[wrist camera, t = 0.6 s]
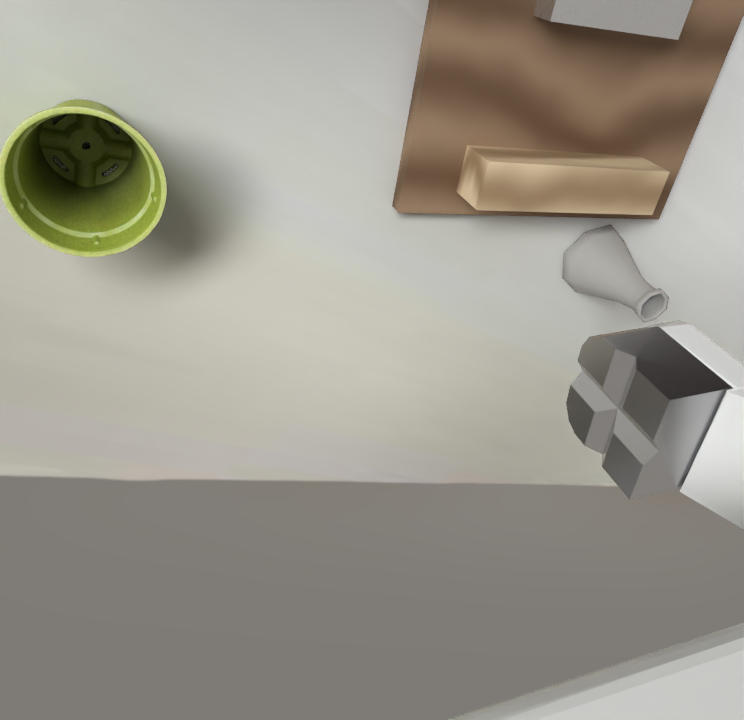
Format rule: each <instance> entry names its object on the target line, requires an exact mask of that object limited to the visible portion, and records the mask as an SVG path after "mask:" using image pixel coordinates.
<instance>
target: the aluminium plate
mask: <svg viewBox="0 0 744 720" xmlns="http://www.w3.org/2000/svg"><path fill="white" fill-rule="evenodd" d="M692 2H693V0H537V2H536V6H535V10H534V14H533V16H536V17H539V18H542V19H545V20H548V21H551V22H558V23H565V24H572V25H579V26H586V27H592V28H599V29H606V30H613V31H620V32H627V33H634V34H640V35H647V36H654V37H661V38H668V39H675V40H678V39H679V36H680V34H681V31H682V28H683V26H684V23H685V20H686V18H687V15H688V12H689V10H690V7H691V4H692Z"/></svg>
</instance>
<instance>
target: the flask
mask: <svg viewBox="0 0 744 720" xmlns="http://www.w3.org/2000/svg"><path fill="white" fill-rule="evenodd" d="M563 279H564V280H565V281H566V282H567V283H568V284H569V285H570V286H571V287H572V288H573V289H574V290H575V291H576V292H579V293H583V294H587V295H592V296H597V297H601V298H605V299H609V300H613V301H616V302H620V303H622V304H624V305H626V306H628V307H630V308H632V309H633V310H634V311H636V314H637V316H638V317H639V318H640V319H641V320H642V321H643V322H647V321H650V320H653V319H656V318H657V317H658V316H659V315H660V314H662V313H663V312H664V311H665V310H666V309H667V304H668V299H669V297H668V296H667V295H666V294H665V292H664V291H663V290H662V289H660V288H659V289H655V288H653V287H652V286H651V285H650V284H648V283H647V282H646V281H645V279H644V278H643V277H642V275H641V274H640V272H639V270H638V268H637V266H636V264H635V262H634V261H633V258H632V256H631V254H630V252H629V250H628V248H627V246H626V244H625V242H624V240H623V239H622V238H621V236H620V235H619V234H618V233H617V231H616V230H615V229H614V228H613V226H612V225H608V226H605V227H601V228H598V229H594V230H591V231H587V232H585V233H584V234H583V235H582V236H581V237H580V238H579V239H578V240H577V241H576V242H575V243H574V244H573V245H572V246H571V247H570V248H569V249H568V250H567V251H566V252H565V253H564V262H563Z"/></svg>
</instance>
